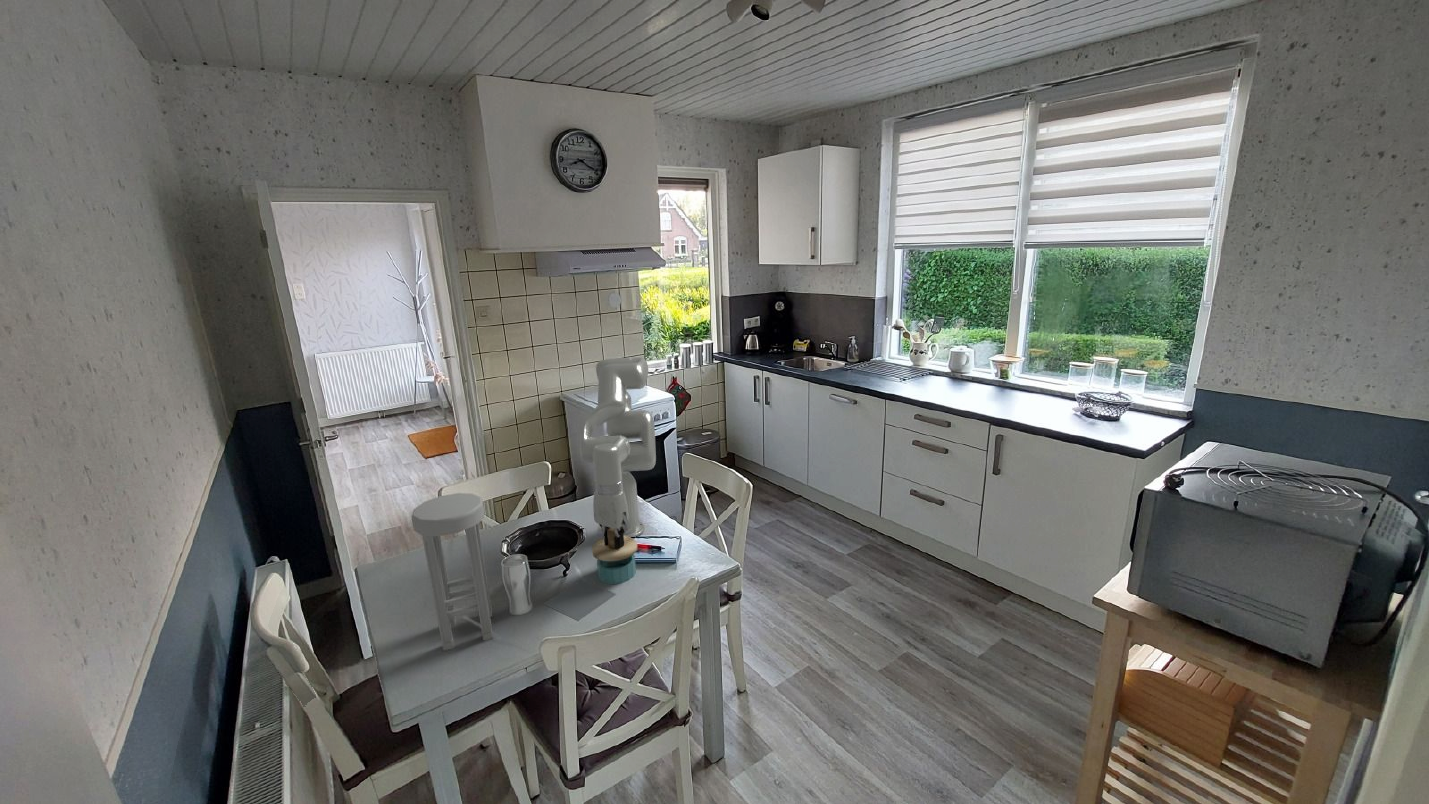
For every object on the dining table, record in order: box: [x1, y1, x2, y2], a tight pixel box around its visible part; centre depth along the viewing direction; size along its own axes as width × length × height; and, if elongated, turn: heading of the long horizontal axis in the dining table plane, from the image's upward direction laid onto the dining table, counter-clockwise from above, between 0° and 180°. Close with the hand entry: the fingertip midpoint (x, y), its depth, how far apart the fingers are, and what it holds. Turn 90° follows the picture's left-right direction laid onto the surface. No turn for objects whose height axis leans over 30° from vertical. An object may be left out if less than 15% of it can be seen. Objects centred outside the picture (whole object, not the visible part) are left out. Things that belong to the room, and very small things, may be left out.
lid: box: [591, 528, 638, 561], centre depth 169 cm, size 13×13×6 cm
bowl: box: [596, 553, 637, 585], centre depth 171 cm, size 11×11×5 cm
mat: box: [542, 579, 617, 622], centre depth 160 cm, size 14×14×1 cm
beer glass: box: [500, 553, 534, 616], centre depth 155 cm, size 7×7×15 cm
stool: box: [411, 492, 494, 651], centre depth 144 cm, size 16×16×35 cm
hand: (614, 545), depth 169 cm, fingers closed on lid, 3 cm apart
